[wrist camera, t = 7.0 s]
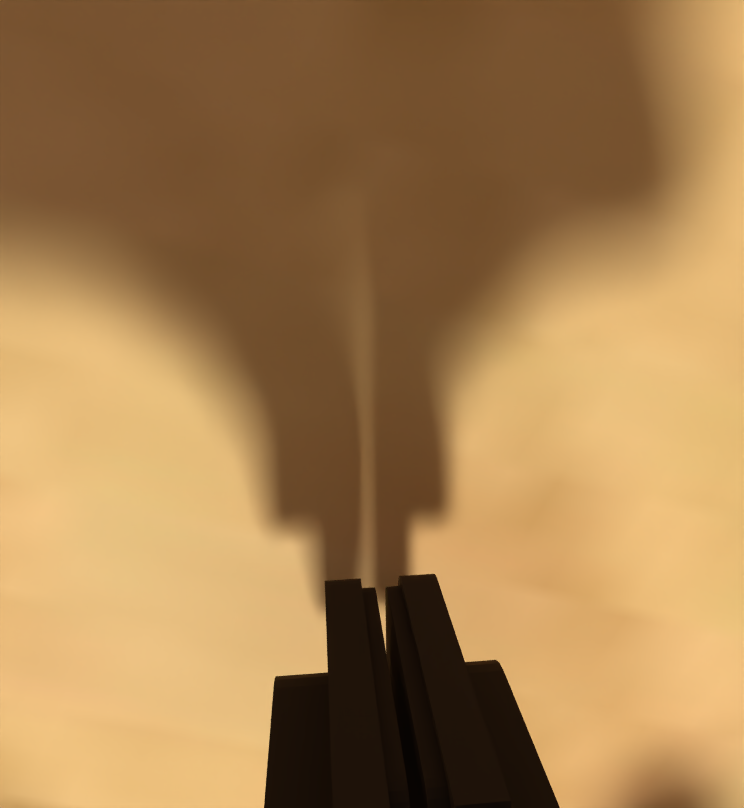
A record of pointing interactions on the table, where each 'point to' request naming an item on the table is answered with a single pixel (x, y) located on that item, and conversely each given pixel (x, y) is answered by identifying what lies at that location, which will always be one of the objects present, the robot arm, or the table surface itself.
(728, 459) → the table surface
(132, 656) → the table surface
